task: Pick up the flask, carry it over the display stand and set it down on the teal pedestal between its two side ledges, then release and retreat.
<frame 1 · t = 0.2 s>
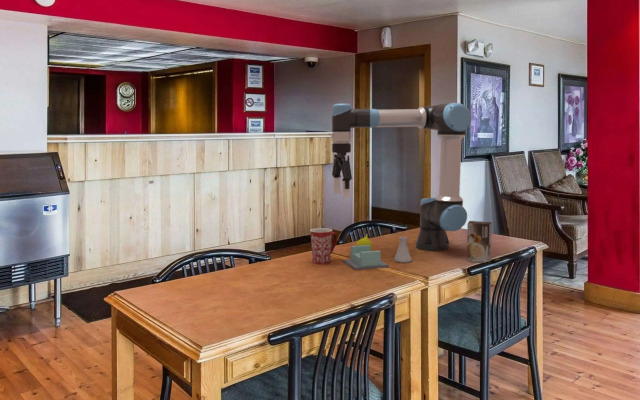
hand: (341, 195, 227), 28 cm above the table, fingers open, 13 cm apart
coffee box: (478, 261, 231), on the table
mug: (324, 262, 231), on the table
flask: (403, 261, 231), on the table
display stand: (365, 264, 226), on the table
ornament: (364, 255, 243), on the table
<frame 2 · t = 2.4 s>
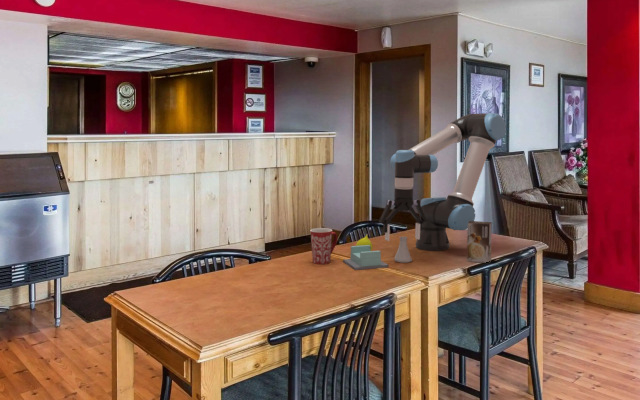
hand: (402, 239, 230), 9 cm above the table, fingers open, 13 cm apart
nothing on the table moved.
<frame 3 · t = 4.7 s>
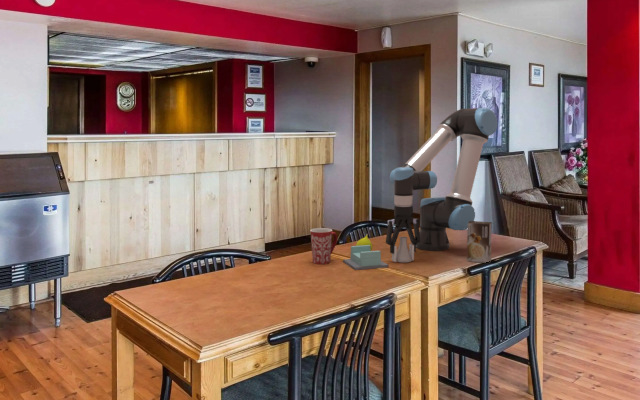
hand: (402, 260, 231), 0 cm above the table, fingers closed on flask, 7 cm apart
flask: (402, 261, 231), on the table, touching gripper
everything else where it was.
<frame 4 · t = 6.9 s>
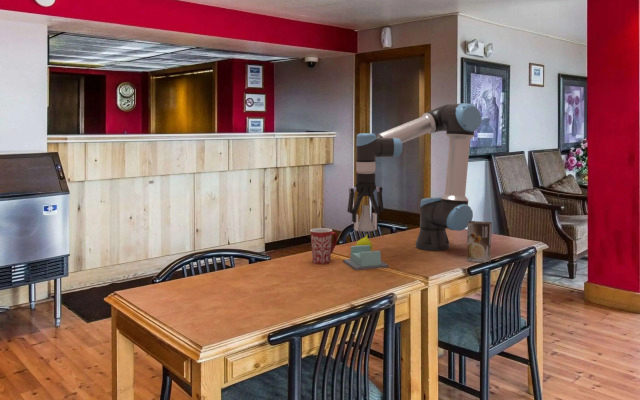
hand: (365, 229, 224), 14 cm above the table, fingers closed on flask, 7 cm apart
flask: (365, 230, 224), point 14 cm above the table, touching gripper
everything else where it was.
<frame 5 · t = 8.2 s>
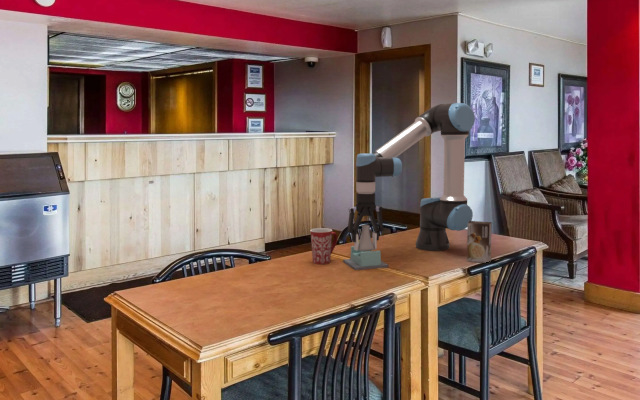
hand: (365, 249, 225), 6 cm above the table, fingers closed on flask, 7 cm apart
flask: (365, 250, 225), point 6 cm above the table, touching gripper
everything else where it was.
when the fingers open (6 cm above the table, at t = 9.0 s): flask drops 2 cm, resting on display stand.
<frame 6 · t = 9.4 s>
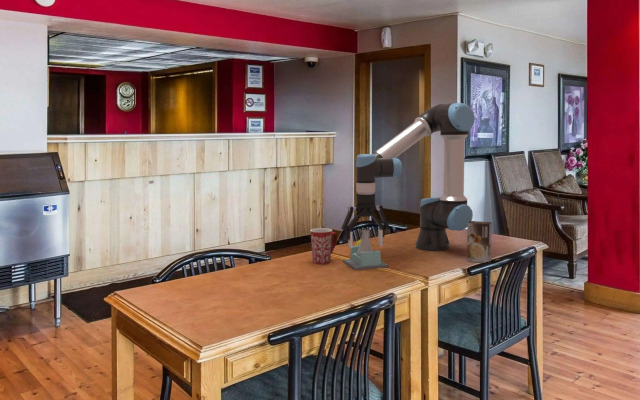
hand: (365, 246, 225), 7 cm above the table, fingers open, 12 cm apart
flask: (365, 255, 225), point 4 cm above the table, touching display stand
everything else where it was.
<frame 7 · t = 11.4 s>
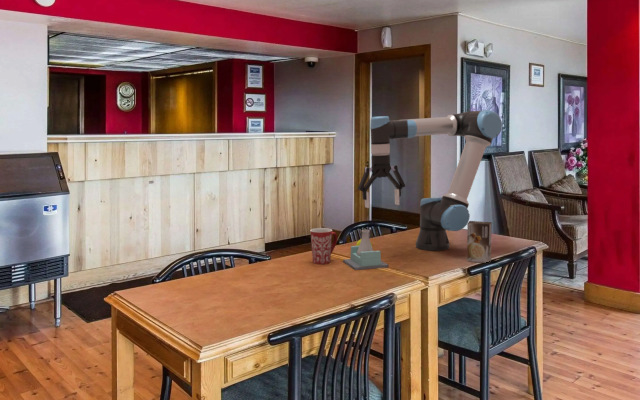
hand: (382, 206, 231), 23 cm above the table, fingers open, 13 cm apart
nothing on the table moved.
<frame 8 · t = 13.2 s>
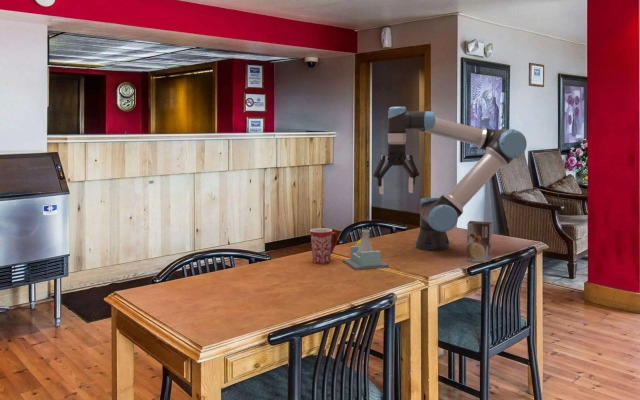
hand: (396, 193, 240), 27 cm above the table, fingers open, 13 cm apart
nothing on the table moved.
at the end: flask 0.0 cm off-centre on the display stand, point 3.8 cm above the display stand's base; flask tilted 0°; the gripper is holding nothing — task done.
